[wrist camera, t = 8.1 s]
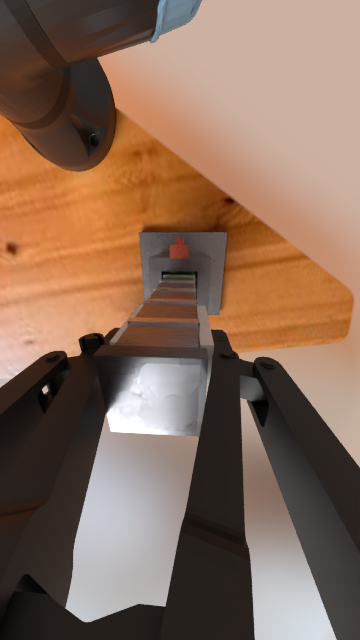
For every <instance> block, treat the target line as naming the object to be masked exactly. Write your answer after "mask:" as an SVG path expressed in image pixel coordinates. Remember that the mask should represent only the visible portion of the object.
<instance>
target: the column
mask: <svg viewBox="0 0 360 640" xmlns="http://www.w3.org/2000/svg"><path fill="white" fill-rule="evenodd" d="M163 276H164V278H163V280H160V284H159V285H158V286H157V287H154V288H153V293H152V295H151V296H150V297H149V299H145V300H144V305H143V307H142V308H141V309H140V311H139V312H138V313H137V315H136V316H135V317H130V318H129V320H128V321H127V323H128V327H127V328H126V330H125V331H124V332H123V334H122V335H121V336H120V338H119V339H118V340H117V342H116V343H115V344H114V345H102V346H101V347H100V348H99V349H98V350H97V351H96V352H95V354H94V355H93V358H94V362H95V366H96V370H97V375H98V379H99V383H100V387H101V392H102V396H103V400H104V405H105V409H106V413H107V417H108V422H109V426H110V430H111V432H126V433H144V434H162V435H180V436H181V435H182V436H198V437H199V436H200V430H201V425H202V419H203V414H204V408H205V398H206V386H207V374H208V361H209V359H208V352H207V348H199V334H200V319H197V305H198V300H197V299H196V288H195V274H176V273H167V274H164V275H163Z"/></svg>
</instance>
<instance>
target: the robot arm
mask: <svg viewBox="0 0 360 640" xmlns="http://www.w3.org/2000/svg"><path fill="white" fill-rule="evenodd" d="M201 1H202V0H0V114H1V115H2V116H4V117H5V118H7V119H8V120H9V121H10V122H11V123H12V124H13V125H14V126H15V127H16V128H17V129H18V130H19V131H20V132H21V134H22V135H23V136H24V138H25V139H26V140H27V142H28V143H29V144H30V145H31V146H32V147H33V148H34V149H35V150H36V151H37V152H38V153H39V154H40V155H41V156H43V157H44V158H45V159H47V160H48V161H50V162H52V163H54V164H55V165H57V166H59V167H61V168H63V169H66V170H69V171H77V172H79V171H86V170H89V169H91V168H93V167H95V166H96V165H98V164H99V163H100V162H101V161H102V160H103V159H104V157H105V156H106V155H107V153H108V151H109V149H110V147H111V144H112V141H113V138H114V133H115V124H116V113H115V103H114V99H113V94H112V90H111V87H110V84H109V82H108V79H107V77H106V75H105V72H104V71H103V69H102V67H101V65H100V63H99V61H98V59H97V57H100V56H103V55H106V54H109V53H112V52H115V51H119V50H122V49H125V48H128V47H131V46H134V45H137V44H141V43H144V42H147V41H150V42H151V43H154V42H156V41H157V39H158V38H159V36H160V35H162V34H165V33H167V32H169V31H172V30H174V29H176V28H179V27H181V26H183V25H185V24H187V23H188V22H190V21H191V20H192V19H193V17H194V16H195V14H196V13H197V10H198V9H199V6H200V4H201ZM142 307H143V305H142V304H140V305H139V306H138V307H137V308H136V310H135V311H134V312H133V313H132V315H131V316H130V317H135V316H136V315H137V313H138V312H139V311H140V309H141V308H142ZM130 317H129V318H130ZM129 318H128V320H129ZM197 319H200V334H199V348H207V352H208V359H209V361H208V374H207V384H209V386H208V392H207V397H206V403H205V408H204V414H203V419H202V425H201V430H200V436H199V441H198V447H197V452H196V458H195V463H194V469H193V474H192V480H191V485H190V491H189V497H188V502H187V508H186V512H185V516H184V519H183V522H182V526H181V530H180V535H179V540H178V545H177V550H176V555H175V560H174V566H173V571H172V576H171V581H170V587H169V592H168V597H167V602H166V607H162V606H153V605H144V604H137V605H135V606H132V607H129V608H127V609H124V610H121V611H119V612H116V613H113V614H111V615H108V616H105V617H102V618H100V619H97V620H94V621H92V622H83V621H81V620H80V619H78V618H77V617H76V616H74V615H73V614H72V613H71V612H69V611H68V610H67V609H65V607H66V603H67V598H68V594H69V589H70V584H71V578H72V570H73V549H74V542H75V537H76V533H77V529H78V525H79V521H80V517H81V513H82V509H83V505H84V501H85V497H86V492H87V488H88V484H89V479H90V476H91V472H92V468H93V464H94V460H95V455H96V451H97V447H98V443H99V439H100V435H101V431H102V427H103V422H104V419H105V414H106V409H105V405H104V400H103V396H102V392H101V387H100V383H99V379H98V375H97V370H96V366H95V362H94V358H93V355H94V354H95V352H96V351H97V350H98V349H99V348H100V347H101V346H102V345H114V344H115V343H116V342H117V340H118V339H119V338H120V336H121V335H122V334H123V332H124V331H125V330H126V328H127V327H128V323H127V321H128V320H127V321H126V322H125V323H124V325H123V326H122V327H121V328H114V329H113V330H111V331H110V332H109V333H108V334H107V335H106V336H105V337H104V336H103V335H102V334H99V333H92V334H88V335H85V336H83V337H81V338H80V339H79V344H80V348H81V351H82V353H81V354H80V356H75V357H67V354H66V353H65V352H64V351H53V352H50V353H48V354H45V355H44V356H42V357H40V358H39V359H38V360H36V361H35V362H34V363H33V364H31V365H30V366H29V367H27V368H26V369H25V370H23V371H22V372H21V373H19V374H18V375H17V376H15V377H14V378H13V379H11V380H10V381H9V382H8V383H6V384H5V385H3V386H2V387H1V388H0V640H255V638H254V617H253V597H252V577H251V564H250V555H249V548H248V545H247V542H246V538H245V524H244V494H243V465H242V435H241V407H240V398H243V399H247V402H248V405H249V407H250V410H251V413H252V415H253V418H254V421H255V423H256V426H257V429H258V432H259V434H260V437H261V439H262V442H263V445H264V447H265V450H266V452H267V456H268V458H269V461H270V464H271V466H272V469H273V471H274V474H275V477H276V479H277V482H278V485H279V487H280V490H281V493H282V495H283V498H284V501H285V503H286V506H287V509H288V511H289V514H290V516H291V519H292V522H293V525H294V527H295V530H296V533H297V535H298V538H299V540H300V543H301V546H302V549H303V551H304V554H305V557H306V559H307V562H308V564H309V567H310V570H311V572H312V575H313V578H314V580H315V583H316V586H317V588H318V591H319V594H320V596H321V599H322V602H323V604H324V607H325V609H326V612H327V615H328V618H329V620H330V623H331V626H332V628H333V631H334V634H335V636H336V639H337V640H360V468H359V466H358V465H357V464H356V462H355V461H354V460H353V458H352V457H351V456H350V454H349V453H348V452H347V450H346V449H345V448H344V446H343V445H342V444H341V443H340V441H339V440H338V439H337V437H336V436H335V435H334V434H333V432H332V431H331V429H330V428H329V427H328V426H327V424H326V423H325V422H324V421H323V419H322V418H321V416H320V415H319V414H318V412H317V411H316V410H315V408H314V407H313V406H312V405H311V403H310V402H309V401H308V399H307V398H306V397H305V395H304V394H303V393H302V392H301V390H300V389H299V388H298V386H297V385H296V384H295V382H294V381H293V380H292V378H291V377H290V376H289V374H288V373H287V372H286V371H285V369H284V368H283V367H282V365H281V364H280V363H279V362H277V361H276V360H274V359H272V358H268V357H258V358H256V359H255V361H254V363H253V362H248V361H244V360H242V359H239V356H238V354H237V353H236V352H234V351H232V348H231V345H230V343H229V340H228V338H227V335H226V333H225V332H224V331H222V330H211V329H210V324H209V320H208V315H207V311H206V306H197ZM46 385H47V388H48V390H49V391H48V392H47V393H46V394H43V391H42V388H43V387H44V386H46Z"/></svg>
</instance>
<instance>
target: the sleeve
mask: <svg viewBox="0 0 360 640" xmlns="http://www.w3.org/2000/svg"><path fill="white" fill-rule="evenodd" d="M139 238H140V250H141V262H142V274H143V286H144V298H145V299H149V297H150V296H151V295H152V293H153V288H154V287H157V286H158V285H159V284H160V280H163V278H164V276H163V275H164V274H167V273H176V274H195V288H196V299H197V300H198V305H197V306H206V311H207V315H219V314H220V304H221V294H222V283H223V273H224V262H225V252H226V242H227V232H139Z"/></svg>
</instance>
